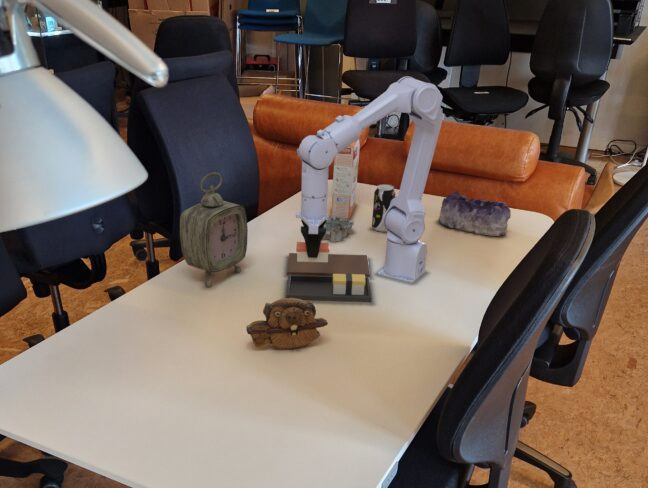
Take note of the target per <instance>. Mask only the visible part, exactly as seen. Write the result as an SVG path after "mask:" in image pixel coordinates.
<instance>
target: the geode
mask: <svg viewBox="0 0 648 488" xmlns="http://www.w3.org/2000/svg"><path fill="white" fill-rule="evenodd" d="M511 213H512V212H511V209H510V208H509V206H508V204H507V202H506V201H495V200H491V199H490V200H484V199H482V198H475V197H474V198H471V199H469V200H468V198H467V196H465V195H461V194H460V192H459V191H457V190H455V191H454V192H453V193H452V194H451V193H450V194H448V195H447V196H446V197H444V198H443V200H442V201H441V206H440V210H439V217H438V220H437V222H438V223H439V224H440V225H441V226H443V227H445V228H448V229H454V230H460V231H464V232H469V233H475V234H476V235H482V236H483V235H486V236H491V237H492V236H493V237H505V236H506V235H507V233H508V232H507V231H508V228H507V227H508V221H509V219H511V217H512V215H511Z"/></svg>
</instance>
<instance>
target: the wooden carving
mask: <svg viewBox="0 0 648 488" xmlns="http://www.w3.org/2000/svg"><path fill="white" fill-rule="evenodd" d="M262 314H263V315H264V317H265V320H254V321H252V322H251V323H249V324H247V325H246V327H245V328H246V333H247V335H250V337H251V339H252V342H253V344H254V347H256V348H261V347H262V348H263V347H264V346H267V345H271V346H272V347H275V348H278V349H294V348H299V347H303V346H306V345H308V344H311V343H312V342H313V341H315V340H317V339H318V338H319V337H320V336H321V334H320V332H319V330H318V329H319V328H324V327H326V326H328V324H329V323H328V320H326V319H325V318H323V317H319V318H318V317H317V318H316V316H317V309H316V306H315V304H314V303H313V301H304V300H301V299H295V298H286V297H284V298H280V299H277V300H275V301H273V302H271V303H269V302H266V303H265V305H264V307H263V310H262Z"/></svg>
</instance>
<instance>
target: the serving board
mask: <svg viewBox="0 0 648 488" xmlns="http://www.w3.org/2000/svg"><path fill="white" fill-rule="evenodd" d="M287 262H288V263H287V268H286V270H287V271H286V276H288V275H314V276H333V274H346V273H351V274H364V275H365V277H369V279H370V278H371V271H370V263H369V255H368V254H342V253H341V254H340V253H328V262H297V252H289V253H288V260H287Z"/></svg>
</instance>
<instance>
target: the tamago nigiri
mask: <svg viewBox="0 0 648 488" xmlns="http://www.w3.org/2000/svg"><path fill="white" fill-rule="evenodd" d="M365 283H366V281H365V275H364V274H351V273H346V274H333V294H345V295H364V285H365Z"/></svg>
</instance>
